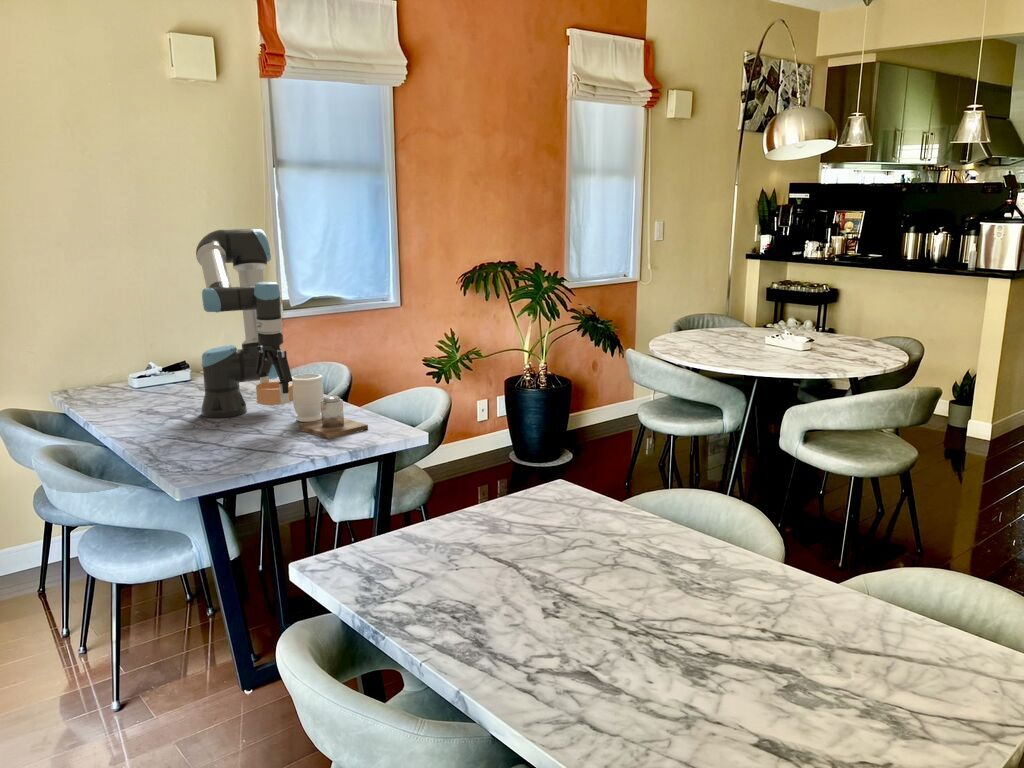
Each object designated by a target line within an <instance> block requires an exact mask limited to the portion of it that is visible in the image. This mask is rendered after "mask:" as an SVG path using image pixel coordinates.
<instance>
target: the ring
mask: <svg viewBox="0 0 1024 768" xmlns="http://www.w3.org/2000/svg"><path fill="white" fill-rule="evenodd" d="M279 382H280V380H278V381H275V380H274V381H269V382H266V383H261V384H260V383H258V384H256V386H255V390H256V392H255V393H256V402H257V404H259V405H261V406H263V405H264V406H276V405H281V404H280V390H279ZM288 390H289V403H291V402H293V389H292V382H288ZM284 404H286V403H284ZM284 404H283V405H284Z"/></svg>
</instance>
